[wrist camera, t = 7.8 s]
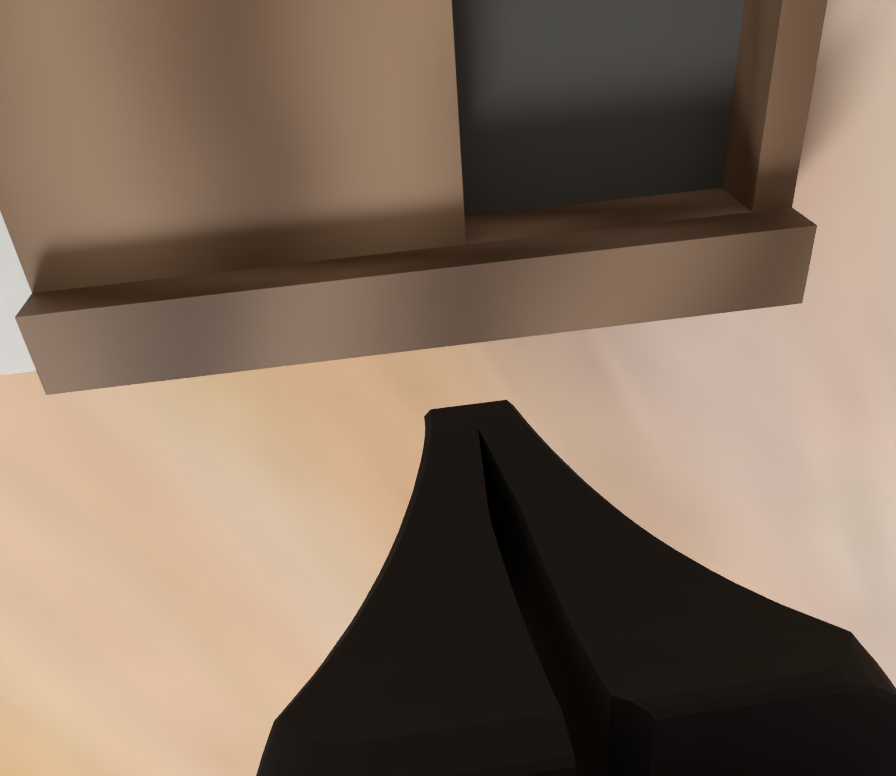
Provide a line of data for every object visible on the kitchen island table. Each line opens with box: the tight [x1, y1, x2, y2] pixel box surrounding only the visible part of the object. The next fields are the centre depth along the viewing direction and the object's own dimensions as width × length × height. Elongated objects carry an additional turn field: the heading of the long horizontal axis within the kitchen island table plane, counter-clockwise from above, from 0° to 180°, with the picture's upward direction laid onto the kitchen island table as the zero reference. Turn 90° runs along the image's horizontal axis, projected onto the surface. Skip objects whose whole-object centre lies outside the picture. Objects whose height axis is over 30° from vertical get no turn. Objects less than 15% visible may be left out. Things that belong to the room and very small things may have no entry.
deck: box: [0, 0, 827, 395], centre depth 17 cm, size 26×13×3 cm, turn 94°
